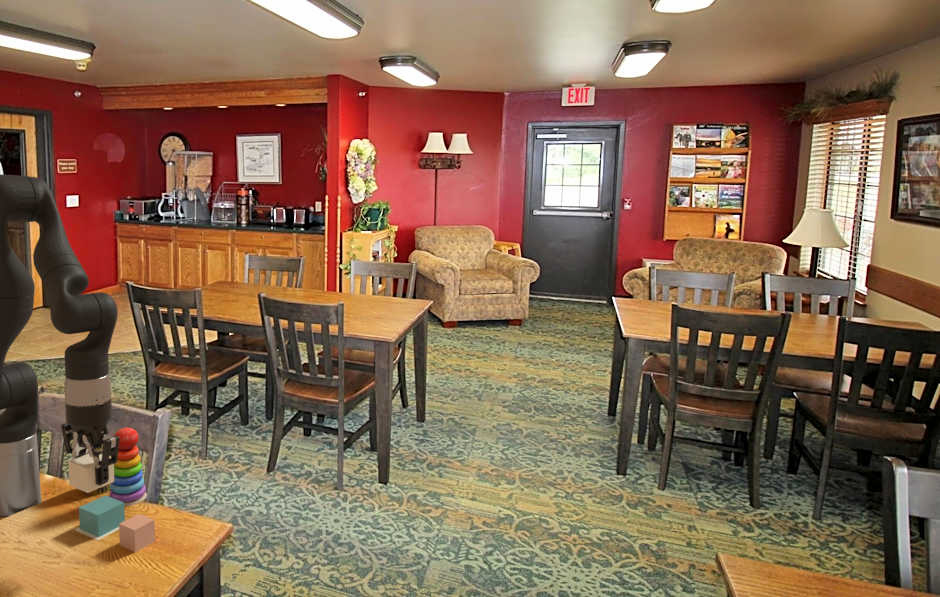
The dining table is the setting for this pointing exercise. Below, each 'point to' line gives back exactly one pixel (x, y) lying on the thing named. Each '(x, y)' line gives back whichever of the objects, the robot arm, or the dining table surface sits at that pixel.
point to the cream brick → (86, 473)
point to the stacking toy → (128, 470)
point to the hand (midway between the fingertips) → (92, 479)
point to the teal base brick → (101, 515)
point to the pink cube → (137, 532)
